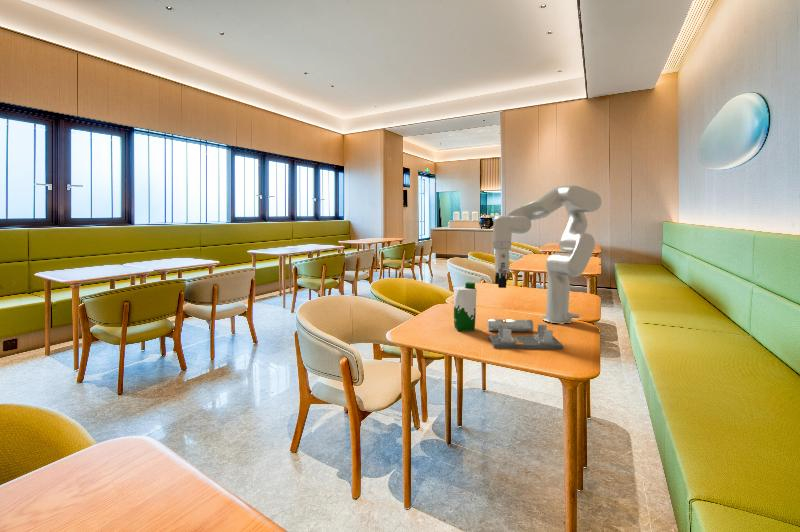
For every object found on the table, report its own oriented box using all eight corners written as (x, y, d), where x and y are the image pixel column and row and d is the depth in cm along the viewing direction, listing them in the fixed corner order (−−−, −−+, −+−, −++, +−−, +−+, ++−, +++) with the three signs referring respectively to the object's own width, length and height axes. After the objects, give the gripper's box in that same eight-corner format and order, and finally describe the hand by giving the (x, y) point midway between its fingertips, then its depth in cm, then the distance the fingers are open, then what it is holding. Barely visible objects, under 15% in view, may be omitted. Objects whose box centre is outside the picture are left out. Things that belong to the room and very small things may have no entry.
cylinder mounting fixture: (552, 339, 160) (553, 323, 160) (563, 349, 148) (564, 332, 148) (488, 338, 162) (489, 322, 161) (493, 348, 150) (494, 331, 149)
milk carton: (477, 331, 171) (478, 284, 169) (456, 332, 171) (457, 285, 168) (471, 326, 180) (473, 281, 178) (451, 326, 179) (452, 281, 177)
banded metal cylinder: (530, 330, 174) (530, 318, 174) (533, 333, 169) (533, 321, 169) (487, 329, 175) (487, 317, 175) (489, 332, 170) (489, 320, 170)
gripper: (514, 247, 162) (513, 289, 164) (507, 244, 179) (506, 282, 182) (495, 247, 163) (494, 289, 165) (490, 244, 180) (489, 282, 182)
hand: (500, 285), depth 173 cm, fingers open, 9 cm apart
